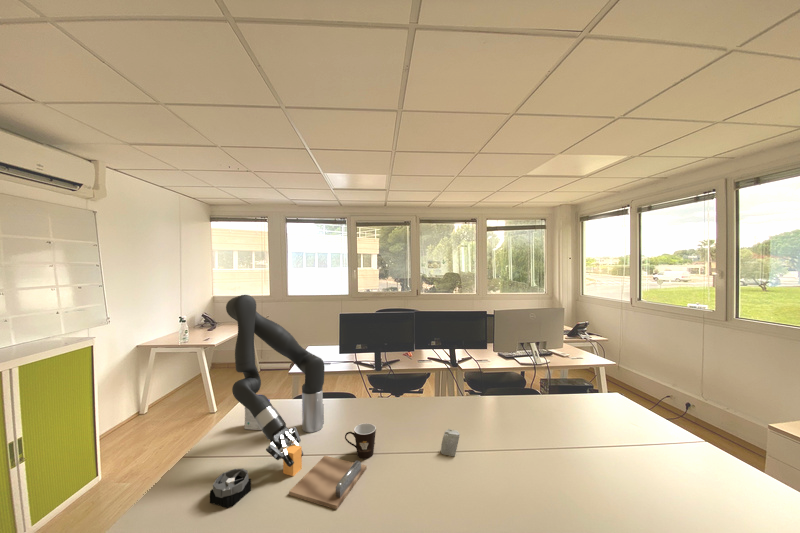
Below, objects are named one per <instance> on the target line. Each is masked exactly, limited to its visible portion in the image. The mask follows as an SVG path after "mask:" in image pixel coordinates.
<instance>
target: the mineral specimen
mask: <svg viewBox="0 0 800 533" xmlns="http://www.w3.org/2000/svg"><path fill="white" fill-rule="evenodd" d="M460 435H461V434H460V432H459V431H458V430H457V429H451V428H448V429H446V430H445V431H444V433H443V436H442V441H441V446H440V453H441V454H442V455H444V456H445V455H446V456H448V457H449V456H450V457H455V456H456V453H457V450H458V445H459V441H460V440H459V439H460Z"/></svg>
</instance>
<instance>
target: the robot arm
mask: <svg viewBox="0 0 800 533" xmlns="http://www.w3.org/2000/svg"><path fill="white" fill-rule="evenodd" d="M225 311H226V313H227V315H228V316H229V317H230V318H231V319H234V320H235V321H236V322H237V335H236V336H237V337H236V342H235V348H234V361H235V362H234V363H235V364H234V365H235V371H236V372H237V373H240V374H241V373H242V374H243V376H244V378H241V379H240V380H237V381H236V382H234V383H233V385H232V386H231V387H232V389H231V391H232V394H233V395H232V396H233V397H234V398H235V400H236V401H237V402H238V403H240V404H241V405H242V406H243V407H244V408H245V407H246V408H247V409H249V410H250V412H251V414H252V415H253V417H254V418H255V420H256V422H257V424H258V425H259V427H260V429H261V430H260V431H261V432H262V433H263V435H264V436H265V437H266V439H267V440H269V441H270V442H269V443H270V444H269V445H268V446H267V447H266V449H265V451H266V452H267V453H268V454H269V455H271V457H273V458H274V459H275V461H279V460H281V459H282V461H283V460H284V461H285V463H286V464H287V466H289V467H291V466H292V465H293V464H294V461H293V460H292V458H291V457H290V456H289V454H288V453H287V450H286V449H287V447H289V446H290V445H297V446H300V445H299V444H300V443H301V441H302V440H301V437H300V434H299V432H298V429H297V427H296V426H294V427H292V428H290V429H289V428H288V427H287V423H286V421H285V420H284V418H283V417H282V416H281V415H280V413H279V411H278V410H277V409H276V408H275V407H274V405H273V404H272V402H271V400H270V401H269V400H268V397H267V396H266V395H265V394H257V393H258V392H259V391H260V389H261V386H262V379H261V376H260V374H259V370H258V368H257V365H256V352H255V335H256V337H258V338H259V339H261V341H263V342H264V343H265V344H266V345H268V346H269V347H270V348H271V349H273V350H274V352H275V351H276V352H277V353H279V354H280V355H282V356H283V357H286V358H287V359H289V360H290V361H291V362H292V363H293V364H294V365H295V366H296V367H297V368H298V369H299V370H300V372H302V373H303V374H304V383H303V384H302V385H301V409H302V410H301V412H302V413H301V419H302V421H301V424H302V426H301V428H302V431H303V432H304V433H316V432H318V431H320V430H321V429H322V428H323V427H324V423H325V415H324V414H325V410H324V409H325V408H324V405H325V404H324V403H323V402H324V400H323V399H324V397H323V395H324V394H323V386H324V384H325V362H324V360H323V359H322V358H321V357H320V356H317V355H315V354H313V353H312V352H310V351H308V350H307V349H306V348H303V346H301V344H299V343H298V341H297V340H296V338H295V337H294V336H293V334H291V333H290V332H289V331H288V330H286V329H285V327H283V326H282V325H280V324H278V323H277V322H275V321H273V320H270V319H269V318H266V317H264V316H263V315H261V314H260V312H259V313H258V312H257V302H256V299H255V298H254V297H253V296H251V295H250V294H241V295H238V296H235V297H233V298H230V299H229V300H228V301H227V302H226V306H225ZM287 454H288V455H287ZM303 456H304V452H303V450H302V457H303Z"/></svg>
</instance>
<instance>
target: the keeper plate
mask: <svg viewBox="0 0 800 533" xmlns="http://www.w3.org/2000/svg"><path fill="white" fill-rule="evenodd" d="M367 466H368V465H366V464H362V462H361V461H360V460H355V461H354V462H353V461H349V460H345V459H341V458H337V457H333V456H328V455H324V456H323V457H322V458H321V459H320V460H319V461H318V462H317V463H316V464H315V465H314V466H313V467H312V468H311V469H310V470H309V471H308V472H307V473H305V474H304V476H303V477H302V478H301V479H300V480H299V481H298V482H297V483H296V484H295V485H294V486H293V487H292V488H291V489H290V490H289V491H288V495H289V496H291V497H294V498H298V499H301V500H305V501H307V502H309V503H314V504H317V505H320V506H324V507H327V508H329V509H330V508H331V509H334V510H338V509H339V508H340V506H341V505H342V504H343V502H344V501H345V499H346V498H347V497H348V495H349V494H350V492H351V491H352V490H353V489H354V487H355V485H356V484H357V483H358V482H359V480H360V479H361V477H362V476H363V475H364V473H365V472H366V470H367Z"/></svg>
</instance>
